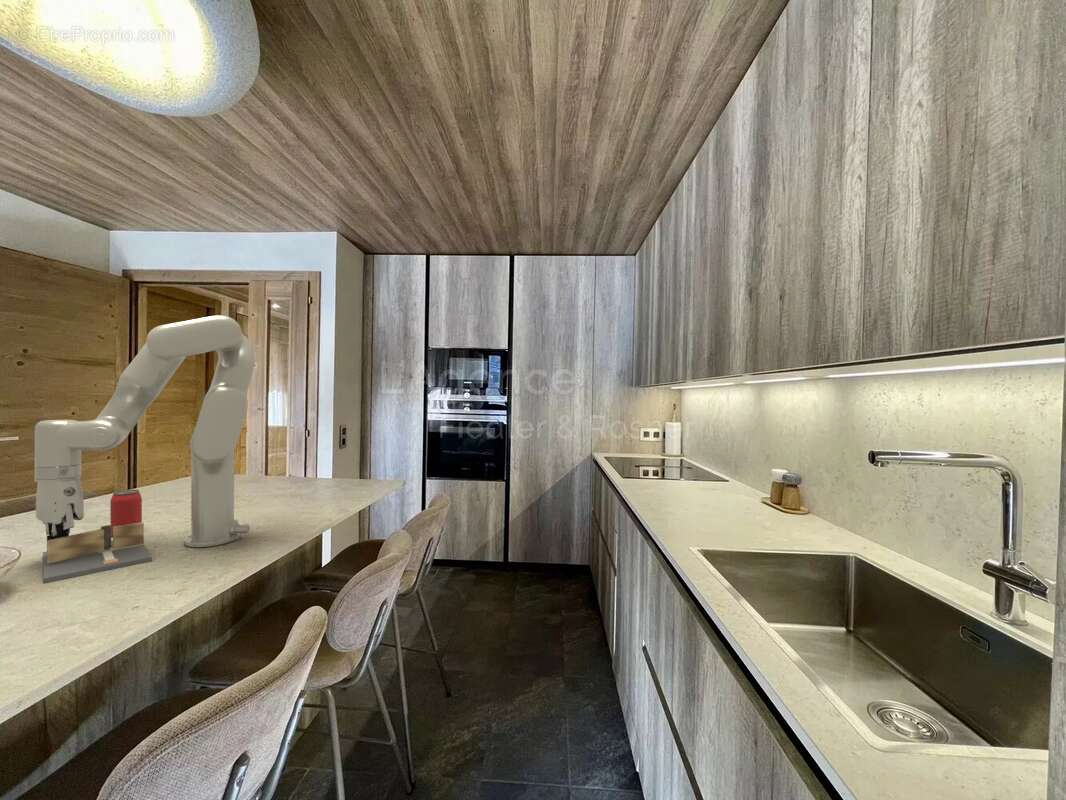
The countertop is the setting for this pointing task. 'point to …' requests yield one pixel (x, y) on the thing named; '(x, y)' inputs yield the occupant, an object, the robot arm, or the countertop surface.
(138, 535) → the bar
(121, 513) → the beer can
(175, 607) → the countertop surface
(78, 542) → the fence gate
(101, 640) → the countertop surface
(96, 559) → the card
